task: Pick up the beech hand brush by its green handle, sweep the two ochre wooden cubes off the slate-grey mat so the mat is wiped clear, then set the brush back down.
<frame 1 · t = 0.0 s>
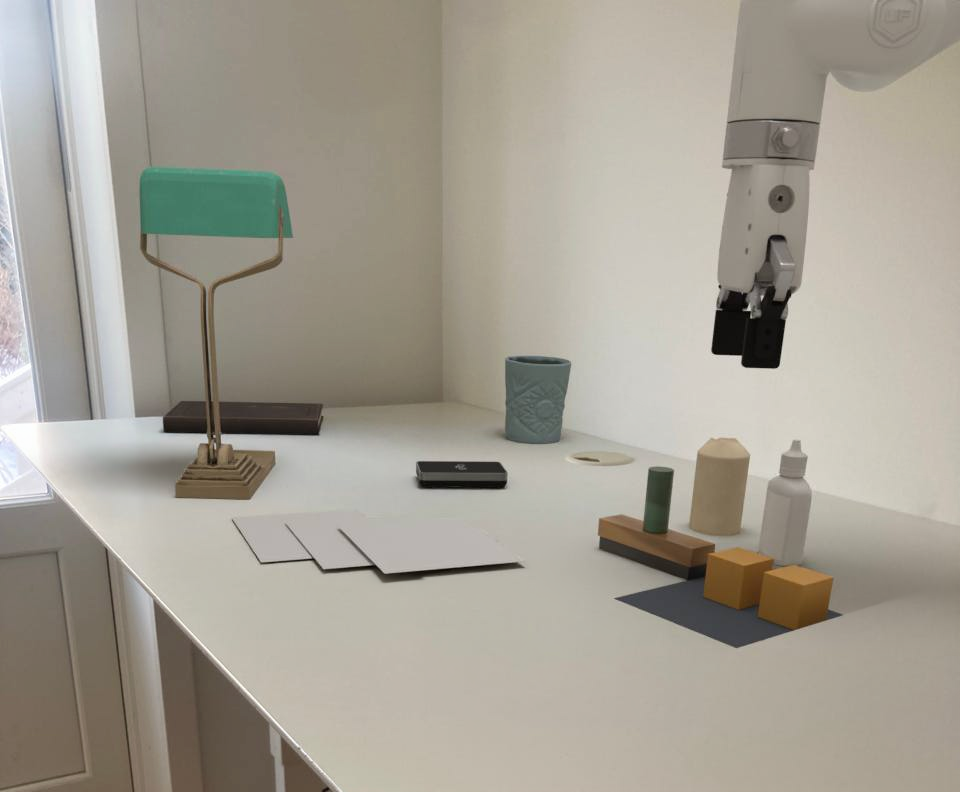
hand: (743, 361, 92), 20 cm above the table, tool pointing down, fingers open, 9 cm apart
external hard drive: (461, 484, 130), on the table
hardcover book: (247, 426, 162), on the table
banker's lamp: (230, 479, 128), on the table
mat: (747, 615, 87), on the table
cube a: (791, 619, 86), resting on mat
candle: (714, 531, 113), on the table
brush: (651, 563, 100), on the table
embossed green cup: (533, 439, 160), on the table
cube b: (735, 599, 90), resting on mat
eye dropper bottle: (778, 561, 103), on the table
paper stack: (369, 543, 103), on the table
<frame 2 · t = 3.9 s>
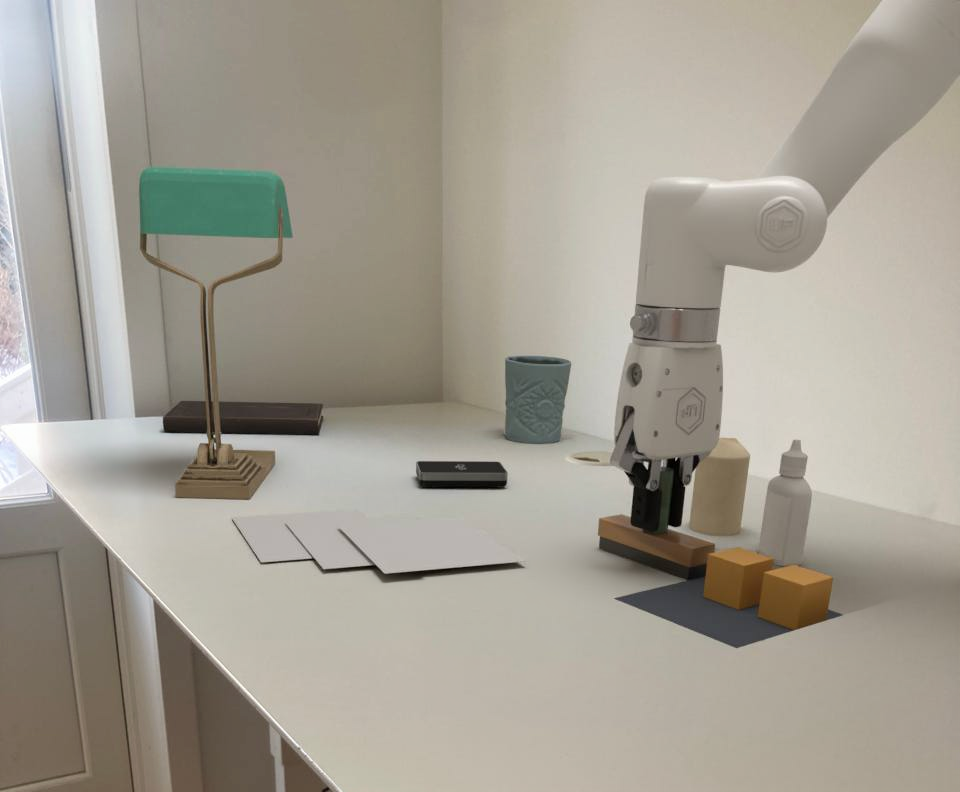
hand: (655, 524, 99), 4 cm above the table, tool pointing down, fingers closed on brush, 2 cm apart
brush: (651, 563, 100), on the table, touching gripper
everything else where it was.
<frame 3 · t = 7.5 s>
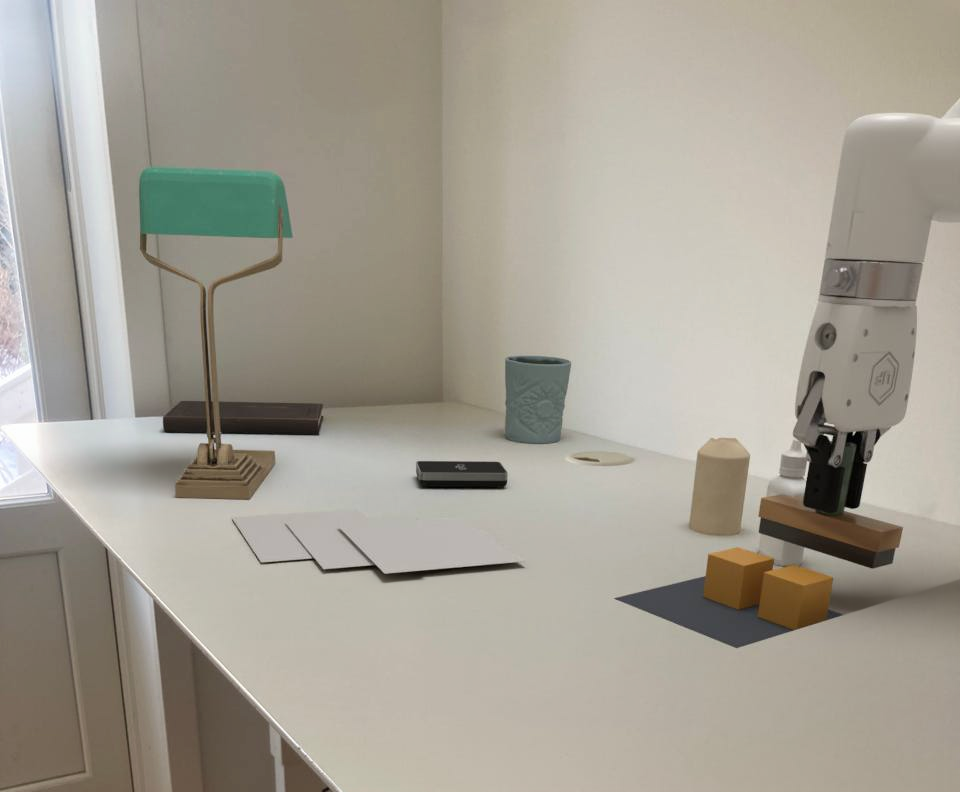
hand: (830, 505, 90), 8 cm above the table, tool pointing down, fingers closed on brush, 2 cm apart
brush: (822, 547, 91), point 4 cm above the table, touching gripper
everything else where it was.
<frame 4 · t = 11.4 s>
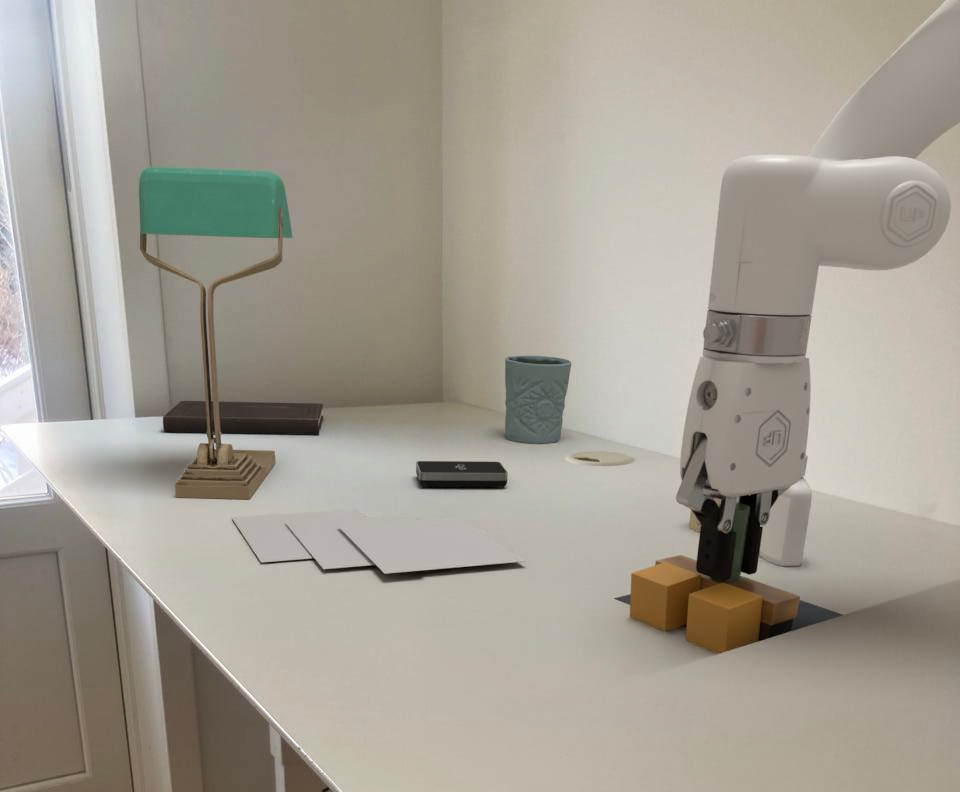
hand: (726, 571, 83), 5 cm above the table, tool pointing down, fingers closed on brush, 2 cm apart
cube a: (721, 642, 81), on the table, touching mat
brush: (719, 615, 85), point 1 cm above the table, touching gripper
cube b: (663, 618, 85), on the table, touching mat
everything else where it was.
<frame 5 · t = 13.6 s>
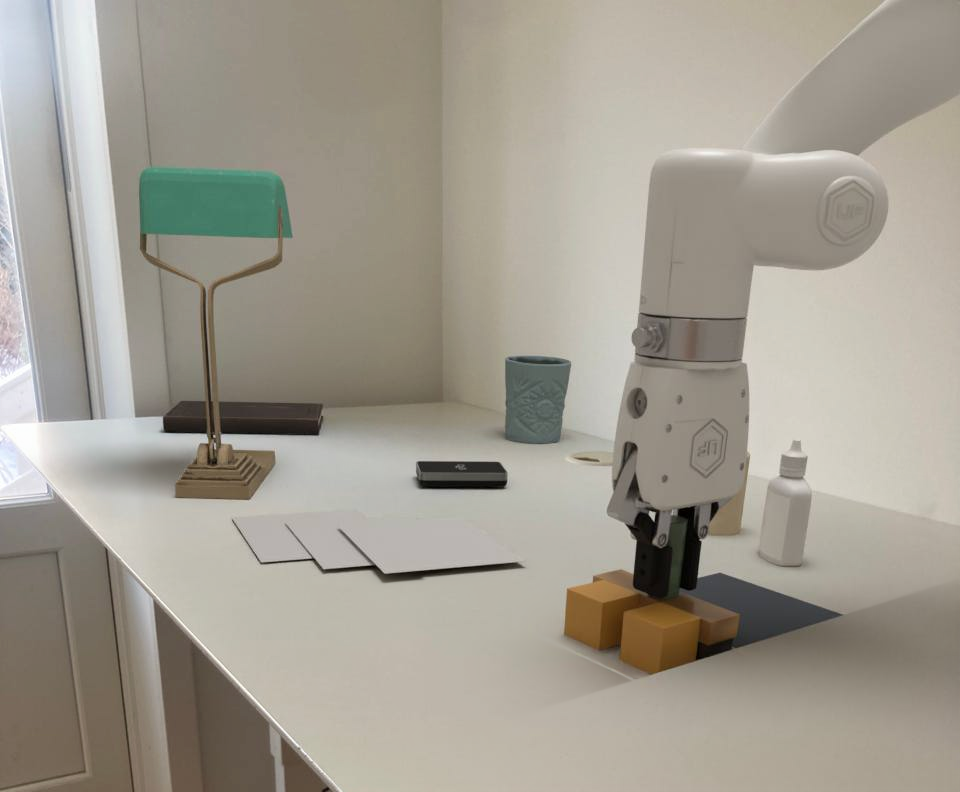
hand: (664, 587, 79), 4 cm above the table, tool pointing down, fingers closed on brush, 2 cm apart
cube a: (657, 664, 76), on the table, touching brush
brush: (658, 633, 81), point 1 cm above the table, touching cube a, cube b, gripper
cube b: (599, 638, 81), on the table, touching brush
everything else where it was.
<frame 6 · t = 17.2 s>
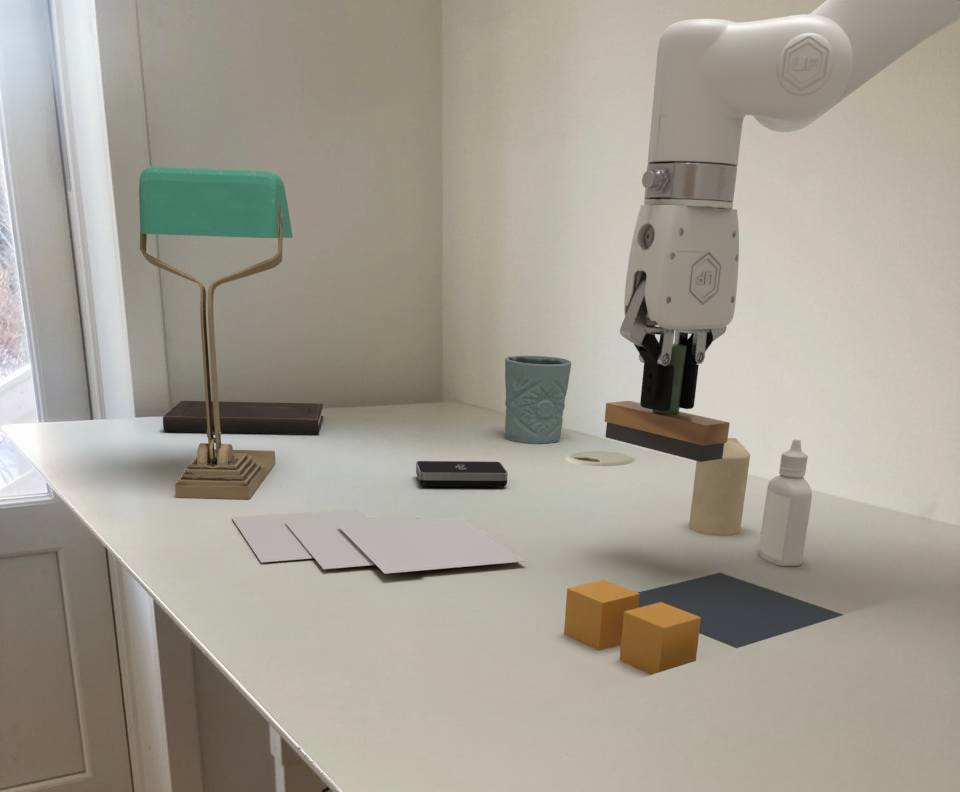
hand: (666, 406, 94), 15 cm above the table, tool pointing down, fingers closed on brush, 2 cm apart
cube a: (657, 664, 76), on the table
brush: (661, 447, 96), point 11 cm above the table, touching gripper
cube b: (599, 638, 81), on the table
everything else where it was.
when the fingers open (4 cm above the table, at t = 20.0 s): brush stays where it is, on the table.
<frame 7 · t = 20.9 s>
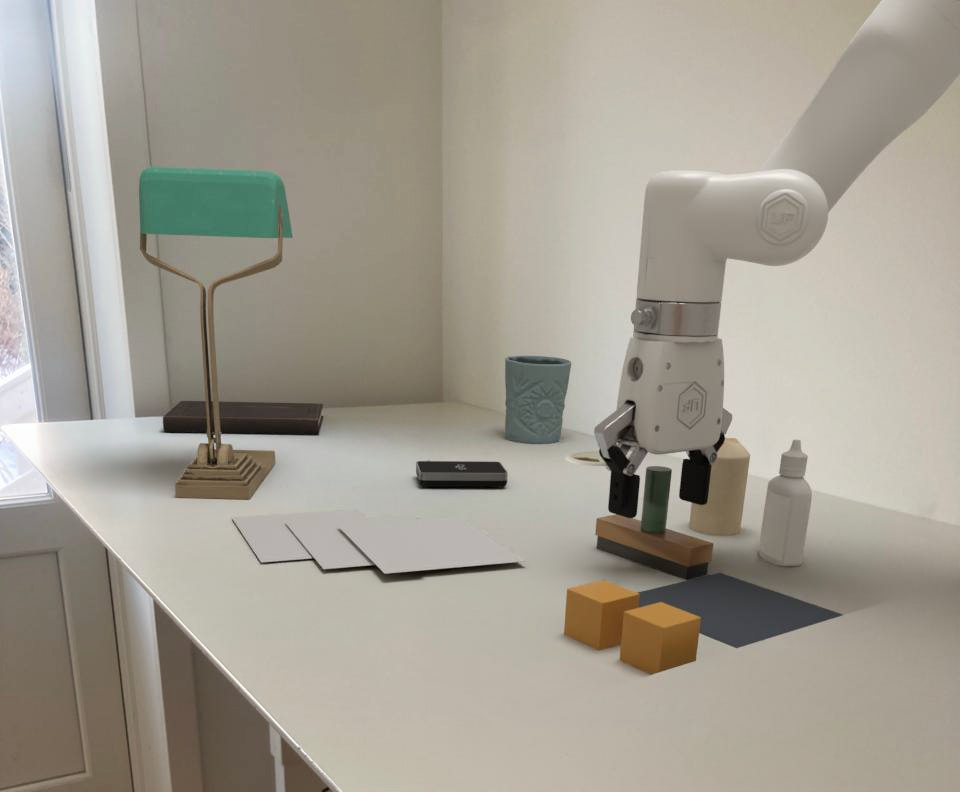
hand: (658, 508, 98), 6 cm above the table, tool pointing down, fingers open, 9 cm apart
brush: (649, 562, 100), on the table
everything else where it was.
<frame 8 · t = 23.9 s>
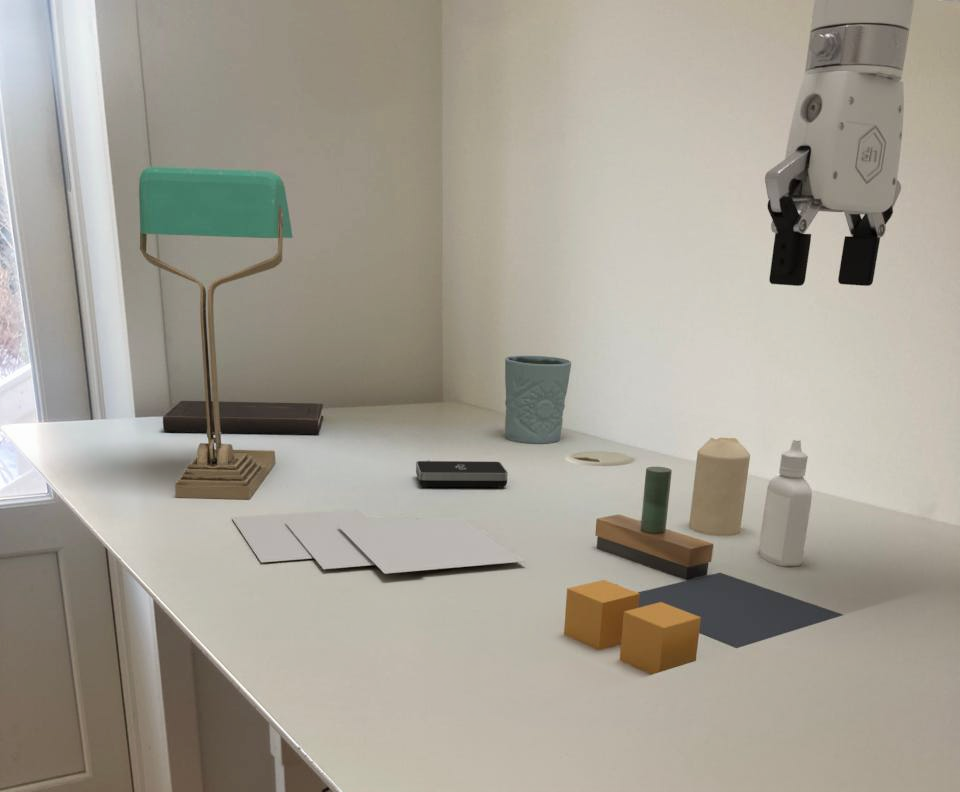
hand: (821, 284, 89), 26 cm above the table, tool pointing down, fingers open, 9 cm apart
nothing on the table moved.
at the end: cube a inside the target area (3.6 cm from its centre), on the table; cube b inside the target area (3.3 cm from its centre), on the table; the gripper is holding nothing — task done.
